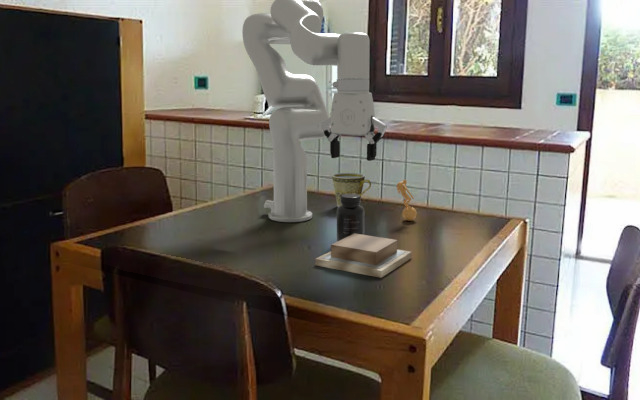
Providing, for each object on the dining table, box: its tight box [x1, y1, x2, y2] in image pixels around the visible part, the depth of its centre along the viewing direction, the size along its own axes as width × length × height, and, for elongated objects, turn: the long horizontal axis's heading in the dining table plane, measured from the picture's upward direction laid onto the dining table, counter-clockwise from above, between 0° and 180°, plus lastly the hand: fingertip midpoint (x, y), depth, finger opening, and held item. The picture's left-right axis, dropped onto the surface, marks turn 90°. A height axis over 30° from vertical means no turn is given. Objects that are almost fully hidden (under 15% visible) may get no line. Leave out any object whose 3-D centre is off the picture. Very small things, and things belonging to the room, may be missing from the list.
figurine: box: [396, 179, 418, 222], centre depth 177 cm, size 8×6×12 cm
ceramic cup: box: [331, 172, 372, 208], centre depth 193 cm, size 13×10×10 cm
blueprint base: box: [314, 233, 413, 279], centre depth 141 cm, size 16×16×4 cm
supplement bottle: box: [336, 194, 365, 242], centre depth 155 cm, size 7×7×12 cm
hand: (352, 158), depth 152 cm, fingers open, 9 cm apart
